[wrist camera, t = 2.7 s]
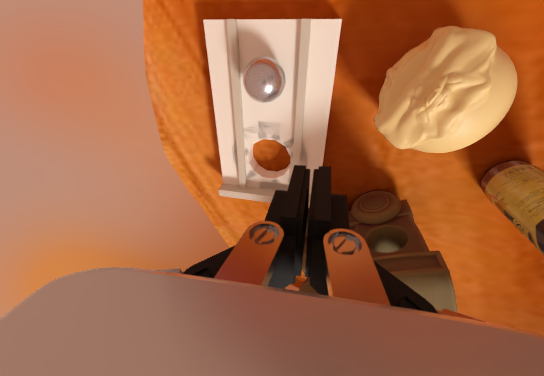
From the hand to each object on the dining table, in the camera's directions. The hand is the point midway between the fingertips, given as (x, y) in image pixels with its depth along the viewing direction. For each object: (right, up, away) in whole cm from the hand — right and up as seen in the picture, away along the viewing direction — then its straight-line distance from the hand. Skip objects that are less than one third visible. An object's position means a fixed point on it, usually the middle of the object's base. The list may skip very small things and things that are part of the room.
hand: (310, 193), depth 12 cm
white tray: (-2, +10, +24) cm, 26 cm away
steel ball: (-3, +13, +17) cm, 21 cm away
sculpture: (+17, +13, +18) cm, 28 cm away
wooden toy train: (+12, -5, +31) cm, 34 cm away
